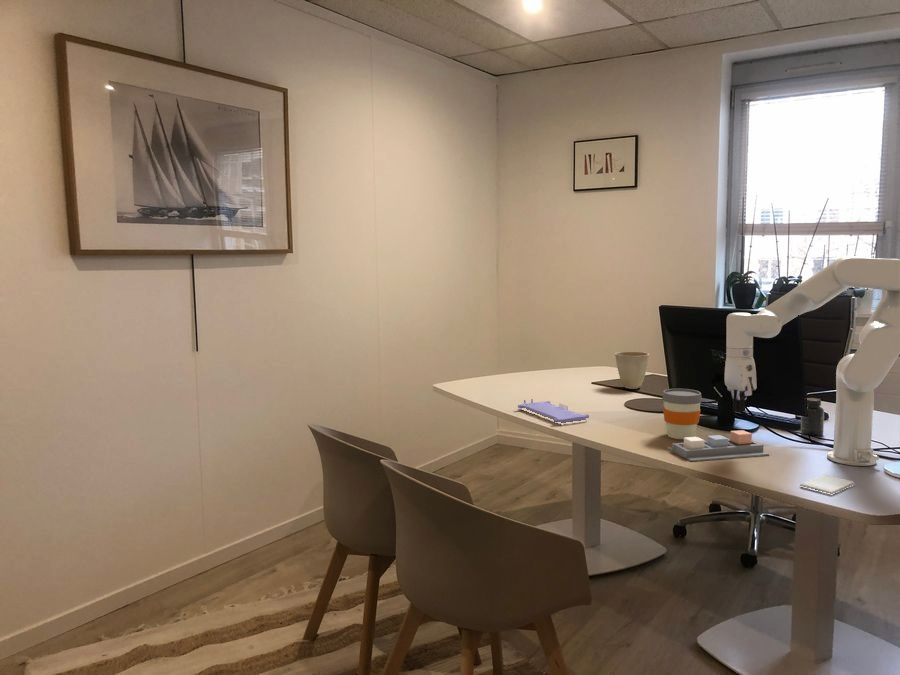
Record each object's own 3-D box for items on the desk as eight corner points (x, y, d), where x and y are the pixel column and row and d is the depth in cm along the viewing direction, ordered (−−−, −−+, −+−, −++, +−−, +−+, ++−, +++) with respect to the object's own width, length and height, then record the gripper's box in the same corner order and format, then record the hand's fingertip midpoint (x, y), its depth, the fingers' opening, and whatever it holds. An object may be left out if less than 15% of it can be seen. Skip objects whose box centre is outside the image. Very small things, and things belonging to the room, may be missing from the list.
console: (769, 455, 210) (769, 447, 210) (690, 461, 205) (691, 453, 205) (741, 443, 224) (741, 435, 224) (667, 448, 219) (667, 441, 219)
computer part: (546, 406, 282) (514, 410, 276) (546, 396, 282) (514, 400, 276) (590, 422, 255) (556, 427, 249) (590, 411, 255) (556, 415, 249)
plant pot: (647, 385, 320) (648, 351, 318) (649, 392, 306) (650, 356, 304) (614, 384, 324) (615, 350, 322) (614, 391, 309) (615, 355, 307)
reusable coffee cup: (698, 431, 239) (699, 389, 237) (702, 441, 227) (704, 396, 225) (660, 430, 241) (661, 388, 240) (662, 439, 229) (663, 395, 228)
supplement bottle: (813, 430, 237) (815, 396, 236) (827, 436, 231) (829, 400, 229) (795, 432, 236) (797, 397, 235) (809, 437, 229) (811, 401, 228)
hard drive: (823, 474, 189) (799, 483, 182) (854, 481, 183) (832, 491, 176) (822, 479, 190) (799, 489, 182) (854, 487, 183) (831, 497, 176)
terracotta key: (751, 443, 214) (751, 433, 214) (738, 444, 213) (738, 434, 213) (742, 439, 218) (743, 430, 218) (730, 440, 218) (730, 431, 217)
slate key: (727, 448, 213) (728, 438, 212) (714, 449, 212) (715, 439, 212) (719, 444, 217) (720, 434, 217) (707, 445, 216) (707, 435, 216)
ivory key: (704, 449, 211) (704, 440, 211) (691, 450, 210) (691, 441, 210) (696, 445, 216) (696, 436, 215) (683, 446, 215) (683, 437, 214)
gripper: (766, 355, 206) (765, 415, 208) (735, 349, 220) (735, 405, 222) (743, 357, 204) (743, 418, 206) (714, 350, 219) (714, 407, 221)
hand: (739, 411), depth 214 cm, fingers closed
